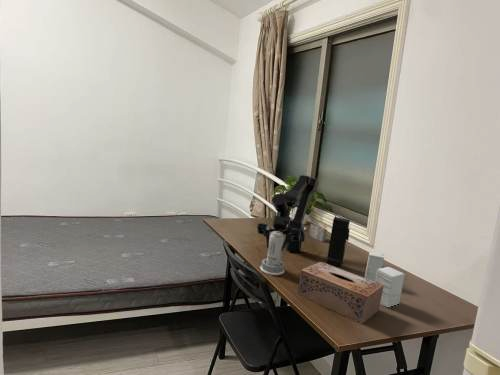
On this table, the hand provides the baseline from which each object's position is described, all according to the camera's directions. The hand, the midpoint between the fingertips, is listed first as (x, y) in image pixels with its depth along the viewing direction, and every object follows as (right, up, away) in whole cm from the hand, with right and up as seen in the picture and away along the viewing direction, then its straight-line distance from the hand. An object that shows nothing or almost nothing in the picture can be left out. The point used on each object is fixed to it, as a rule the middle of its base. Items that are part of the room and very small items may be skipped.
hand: (274, 249), depth 153 cm
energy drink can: (-1, -8, +3) cm, 8 cm away
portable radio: (+30, -11, +17) cm, 36 cm away
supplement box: (+41, -18, -15) cm, 47 cm away
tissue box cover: (+22, -17, -20) cm, 34 cm away
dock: (-1, -10, +3) cm, 10 cm away
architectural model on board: (+28, -4, +57) cm, 64 cm away
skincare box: (+42, -15, +4) cm, 45 cm away
